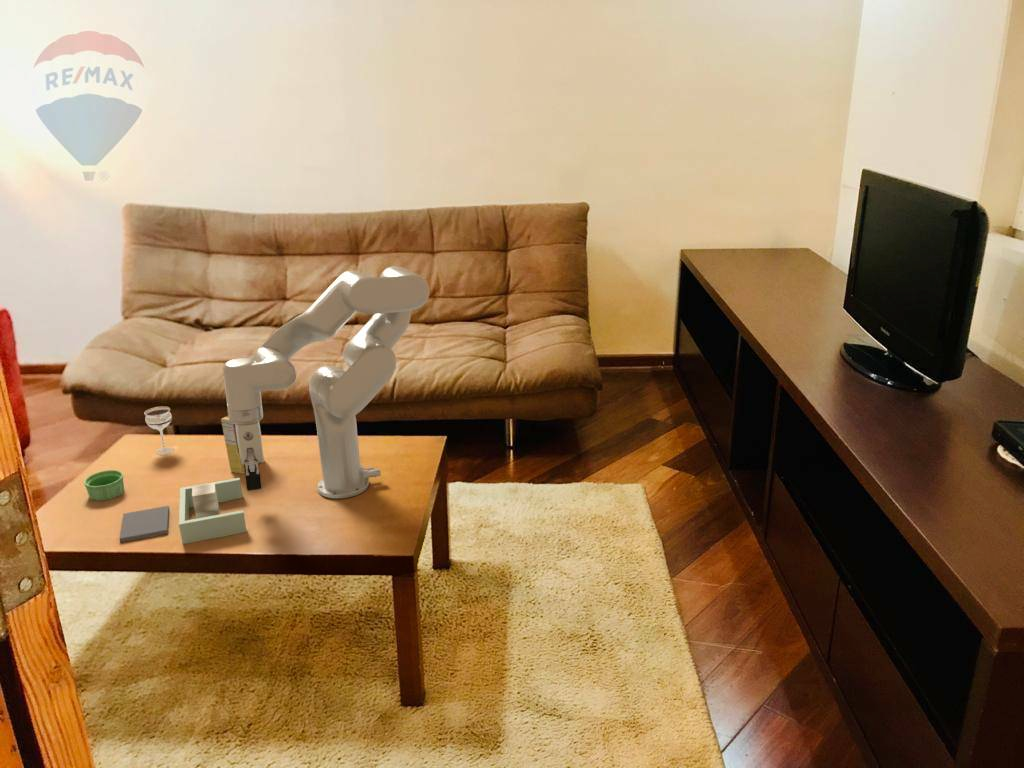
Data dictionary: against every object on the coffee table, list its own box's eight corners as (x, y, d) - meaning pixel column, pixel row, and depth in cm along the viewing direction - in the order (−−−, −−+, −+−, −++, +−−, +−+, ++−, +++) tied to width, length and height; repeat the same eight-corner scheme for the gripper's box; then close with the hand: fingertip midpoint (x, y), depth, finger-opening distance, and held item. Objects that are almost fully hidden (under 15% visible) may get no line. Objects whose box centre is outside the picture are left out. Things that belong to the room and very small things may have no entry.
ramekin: (96, 506, 205) (92, 490, 204) (81, 494, 211) (77, 479, 210) (132, 492, 212) (129, 476, 210) (117, 481, 217) (113, 466, 216)
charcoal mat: (169, 509, 203) (168, 505, 202) (167, 533, 192) (166, 529, 192) (124, 517, 200) (123, 513, 199) (120, 542, 189) (119, 538, 189)
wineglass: (159, 445, 237) (151, 406, 233) (182, 445, 237) (174, 406, 232) (147, 456, 231) (138, 415, 227) (170, 456, 230) (163, 416, 226)
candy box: (252, 457, 228) (244, 405, 222) (264, 460, 226) (257, 407, 221) (229, 472, 220) (220, 418, 215) (242, 474, 219) (233, 420, 213)
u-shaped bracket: (242, 495, 208) (239, 477, 206) (246, 531, 192) (243, 512, 190) (183, 506, 204) (180, 487, 202) (182, 544, 187) (178, 524, 186)
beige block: (220, 512, 200) (214, 482, 197) (220, 522, 196) (215, 492, 193) (197, 516, 199) (192, 486, 196) (197, 527, 194) (192, 496, 191)
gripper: (265, 424, 185) (272, 494, 191) (260, 397, 201) (266, 463, 206) (229, 428, 183) (237, 499, 189) (226, 401, 198) (234, 467, 204)
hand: (253, 480), depth 198 cm, fingers open, 9 cm apart
